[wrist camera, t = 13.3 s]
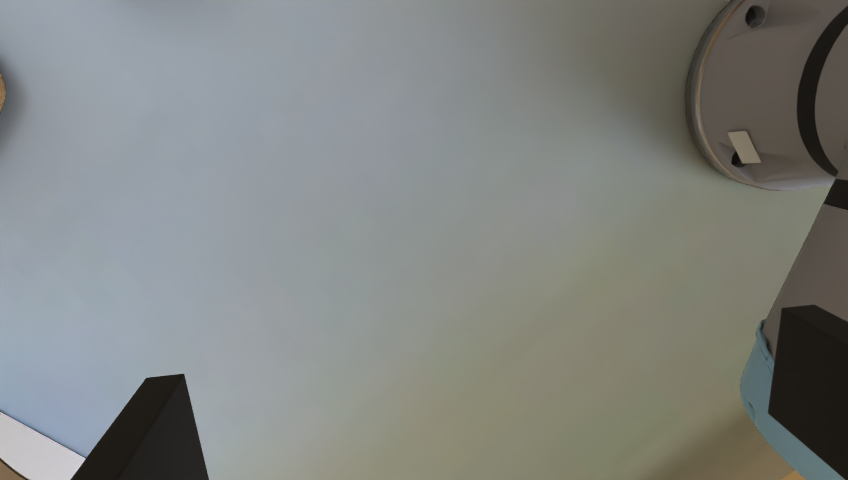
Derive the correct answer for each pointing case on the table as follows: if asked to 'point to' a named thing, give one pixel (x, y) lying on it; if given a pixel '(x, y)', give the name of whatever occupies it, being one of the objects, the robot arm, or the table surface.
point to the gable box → (33, 454)
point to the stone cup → (2, 92)
